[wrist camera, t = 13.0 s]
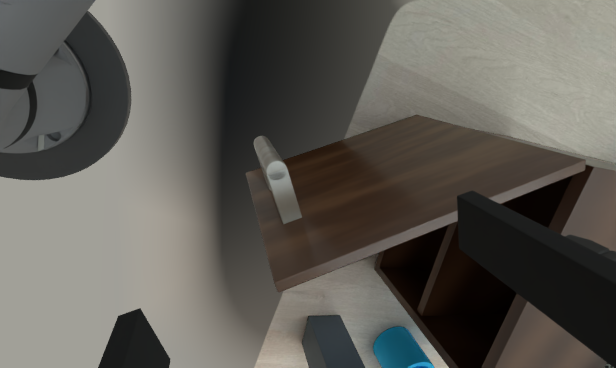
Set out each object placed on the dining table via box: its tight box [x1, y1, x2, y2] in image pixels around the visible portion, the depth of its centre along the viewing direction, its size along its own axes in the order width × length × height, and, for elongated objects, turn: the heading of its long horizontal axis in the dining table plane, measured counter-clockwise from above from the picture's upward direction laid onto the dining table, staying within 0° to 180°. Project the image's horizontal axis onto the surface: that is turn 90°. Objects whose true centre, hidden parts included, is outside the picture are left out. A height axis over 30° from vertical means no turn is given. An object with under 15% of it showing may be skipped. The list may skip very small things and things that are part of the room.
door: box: [246, 115, 586, 292], centre depth 34 cm, size 7×26×24 cm, turn 105°
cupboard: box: [374, 128, 616, 368], centre depth 44 cm, size 18×26×24 cm
